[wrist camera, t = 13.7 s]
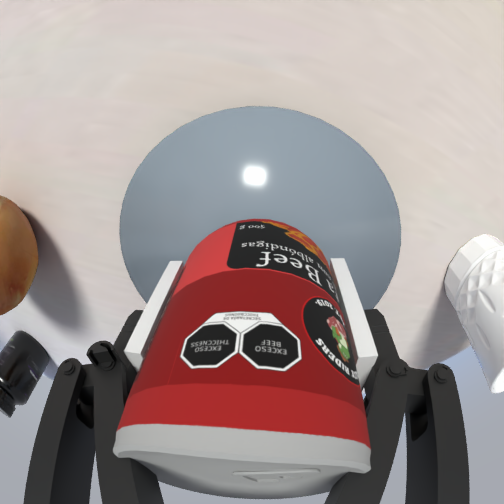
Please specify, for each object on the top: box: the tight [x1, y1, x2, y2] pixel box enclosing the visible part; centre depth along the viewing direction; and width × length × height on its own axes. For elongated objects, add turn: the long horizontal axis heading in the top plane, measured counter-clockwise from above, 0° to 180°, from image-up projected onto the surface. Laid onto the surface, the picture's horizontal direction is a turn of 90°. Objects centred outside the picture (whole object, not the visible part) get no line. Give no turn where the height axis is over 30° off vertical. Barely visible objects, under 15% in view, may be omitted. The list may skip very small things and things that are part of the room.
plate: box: [120, 106, 401, 310], centre depth 17 cm, size 18×18×1 cm
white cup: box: [444, 234, 504, 394], centre depth 13 cm, size 8×8×10 cm
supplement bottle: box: [0, 331, 49, 417], centre depth 23 cm, size 7×7×12 cm
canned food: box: [113, 219, 371, 499], centre depth 11 cm, size 8×8×11 cm
